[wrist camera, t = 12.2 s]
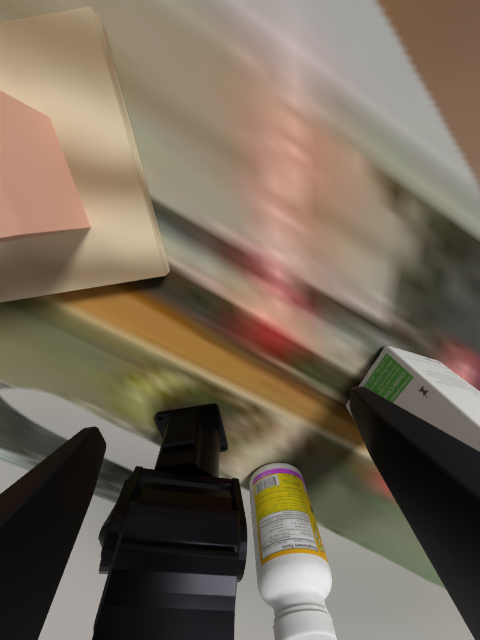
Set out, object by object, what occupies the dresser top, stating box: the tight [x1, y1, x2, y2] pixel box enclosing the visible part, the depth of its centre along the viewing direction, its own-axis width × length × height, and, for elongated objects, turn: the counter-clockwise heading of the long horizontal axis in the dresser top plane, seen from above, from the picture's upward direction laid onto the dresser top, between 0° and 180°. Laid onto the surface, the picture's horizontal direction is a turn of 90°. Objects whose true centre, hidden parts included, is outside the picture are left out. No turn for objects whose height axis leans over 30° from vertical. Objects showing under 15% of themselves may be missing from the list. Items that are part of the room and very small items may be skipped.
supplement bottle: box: [249, 463, 337, 640], centre depth 24 cm, size 7×7×13 cm
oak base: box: [0, 6, 170, 302], centre depth 16 cm, size 14×14×2 cm
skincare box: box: [346, 346, 480, 451], centre depth 18 cm, size 8×7×16 cm
